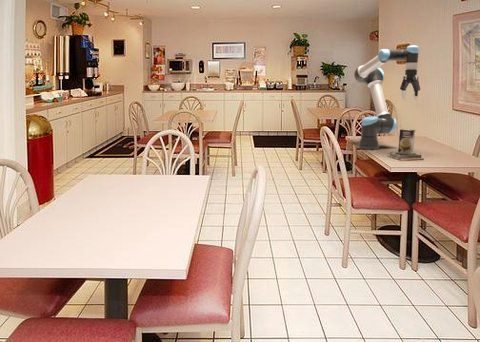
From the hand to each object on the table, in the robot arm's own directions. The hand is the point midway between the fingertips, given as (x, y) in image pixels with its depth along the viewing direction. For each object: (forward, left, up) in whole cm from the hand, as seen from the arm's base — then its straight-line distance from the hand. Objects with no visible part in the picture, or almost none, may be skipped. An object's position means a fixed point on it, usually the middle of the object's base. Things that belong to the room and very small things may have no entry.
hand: (409, 100), depth 330 cm
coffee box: (+18, -12, -34) cm, 40 cm away
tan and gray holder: (+18, -12, -37) cm, 43 cm away
